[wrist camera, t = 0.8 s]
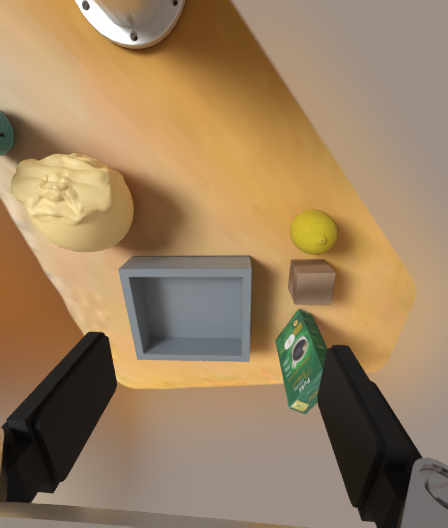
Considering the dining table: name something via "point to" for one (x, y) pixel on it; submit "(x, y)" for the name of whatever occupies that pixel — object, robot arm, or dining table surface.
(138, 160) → the dining table surface
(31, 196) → the sculpture
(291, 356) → the coffee box
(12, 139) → the beverage bottle
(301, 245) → the lemon
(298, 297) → the walnut cube
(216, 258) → the tote
